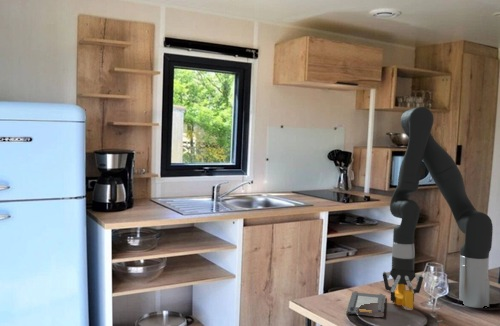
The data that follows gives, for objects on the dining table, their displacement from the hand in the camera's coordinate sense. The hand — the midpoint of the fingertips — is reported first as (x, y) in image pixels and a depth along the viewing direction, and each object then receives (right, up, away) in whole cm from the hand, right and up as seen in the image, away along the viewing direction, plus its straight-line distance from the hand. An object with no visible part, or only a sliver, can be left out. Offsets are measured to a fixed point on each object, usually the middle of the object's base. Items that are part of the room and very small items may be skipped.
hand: (401, 302), depth 166 cm
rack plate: (-13, -1, -1) cm, 13 cm away
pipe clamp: (0, -1, 0) cm, 1 cm away
